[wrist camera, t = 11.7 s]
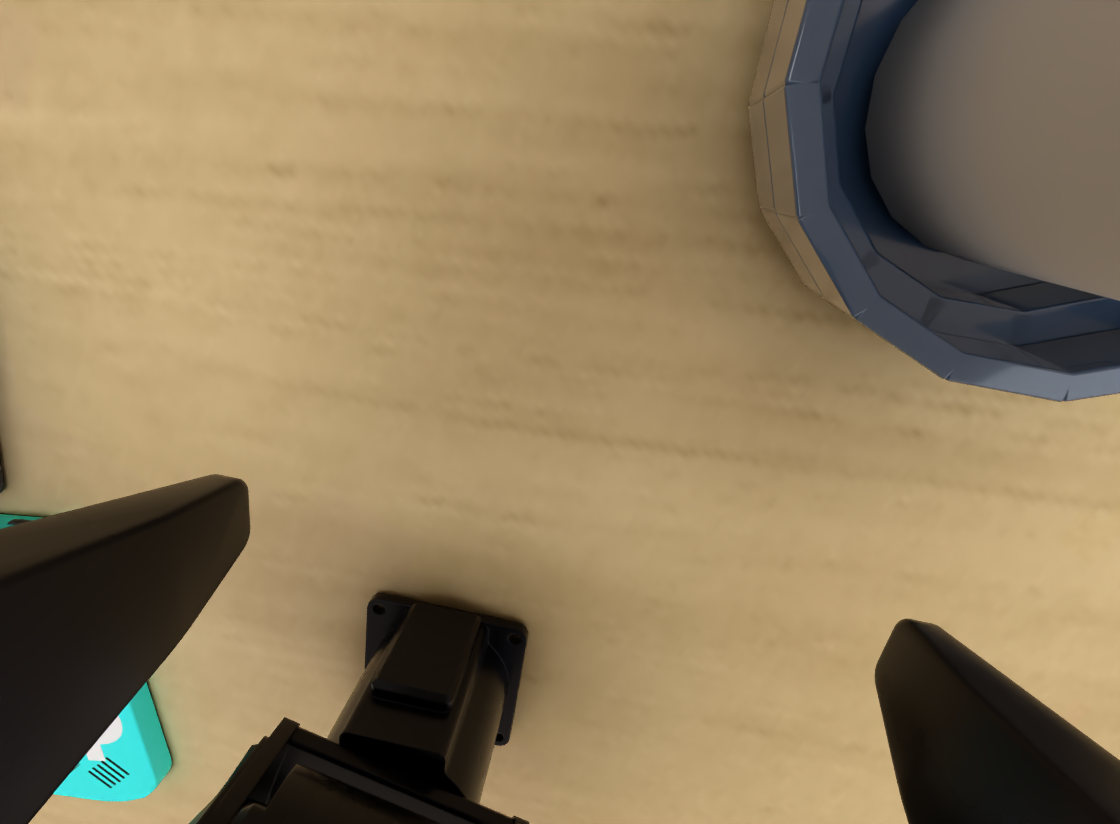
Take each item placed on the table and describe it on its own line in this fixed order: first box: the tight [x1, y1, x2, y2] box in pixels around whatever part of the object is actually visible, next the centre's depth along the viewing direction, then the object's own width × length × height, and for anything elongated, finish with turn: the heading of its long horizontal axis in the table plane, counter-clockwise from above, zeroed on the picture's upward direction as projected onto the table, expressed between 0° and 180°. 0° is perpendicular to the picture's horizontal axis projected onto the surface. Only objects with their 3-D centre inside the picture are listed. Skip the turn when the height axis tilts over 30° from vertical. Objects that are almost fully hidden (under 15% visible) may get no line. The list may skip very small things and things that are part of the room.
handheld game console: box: [0, 514, 172, 801], centre depth 27 cm, size 10×16×1 cm, turn 0°
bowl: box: [748, 0, 1120, 402], centre depth 13 cm, size 13×13×5 cm
